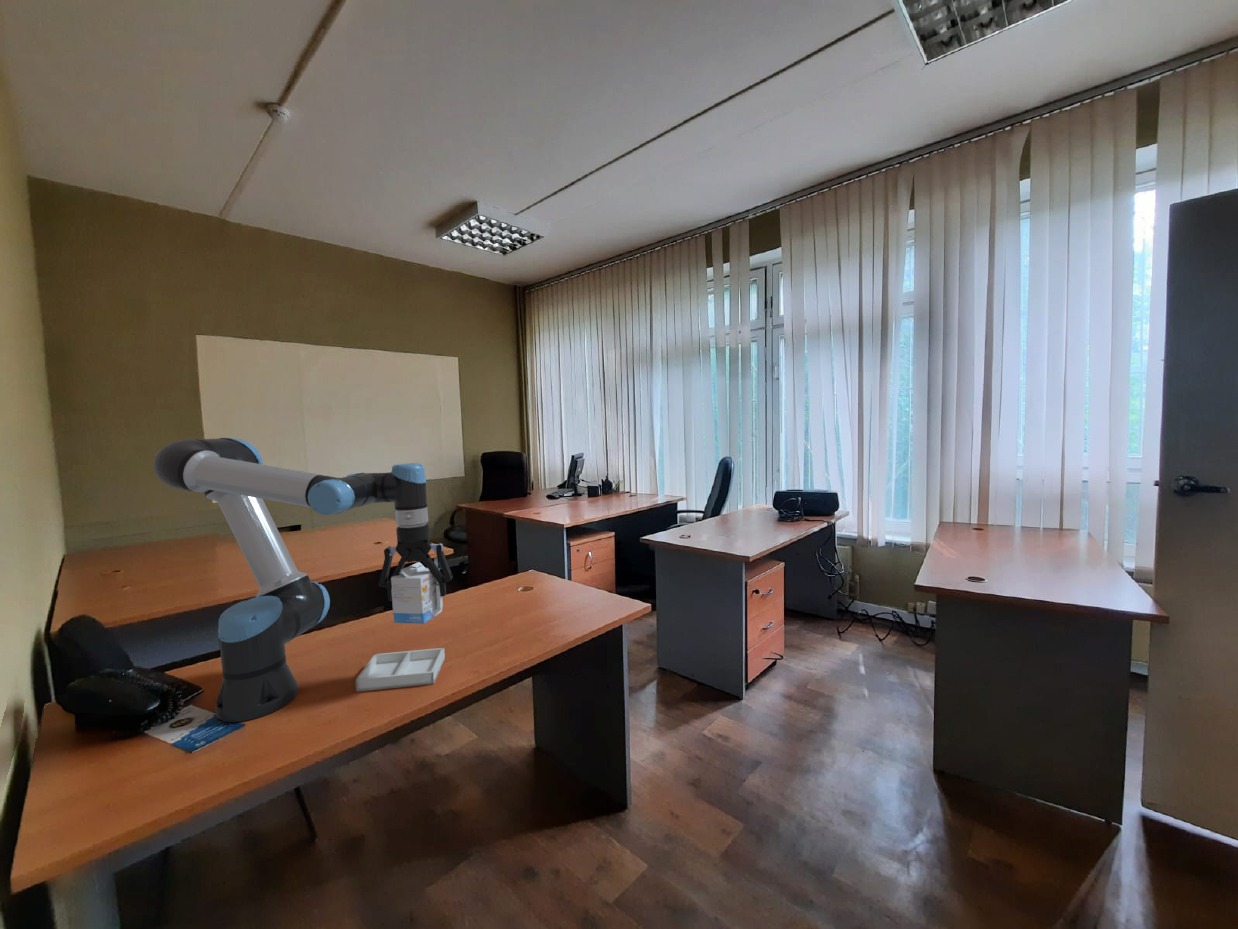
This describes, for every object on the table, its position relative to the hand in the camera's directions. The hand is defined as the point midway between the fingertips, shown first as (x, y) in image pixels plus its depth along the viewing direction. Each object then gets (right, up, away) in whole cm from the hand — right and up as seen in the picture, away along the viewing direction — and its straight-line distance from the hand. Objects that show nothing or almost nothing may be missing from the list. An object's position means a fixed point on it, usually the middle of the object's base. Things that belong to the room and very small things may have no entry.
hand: (418, 610), depth 121 cm
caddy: (-4, -17, +1) cm, 17 cm away
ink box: (0, -2, 0) cm, 2 cm away
